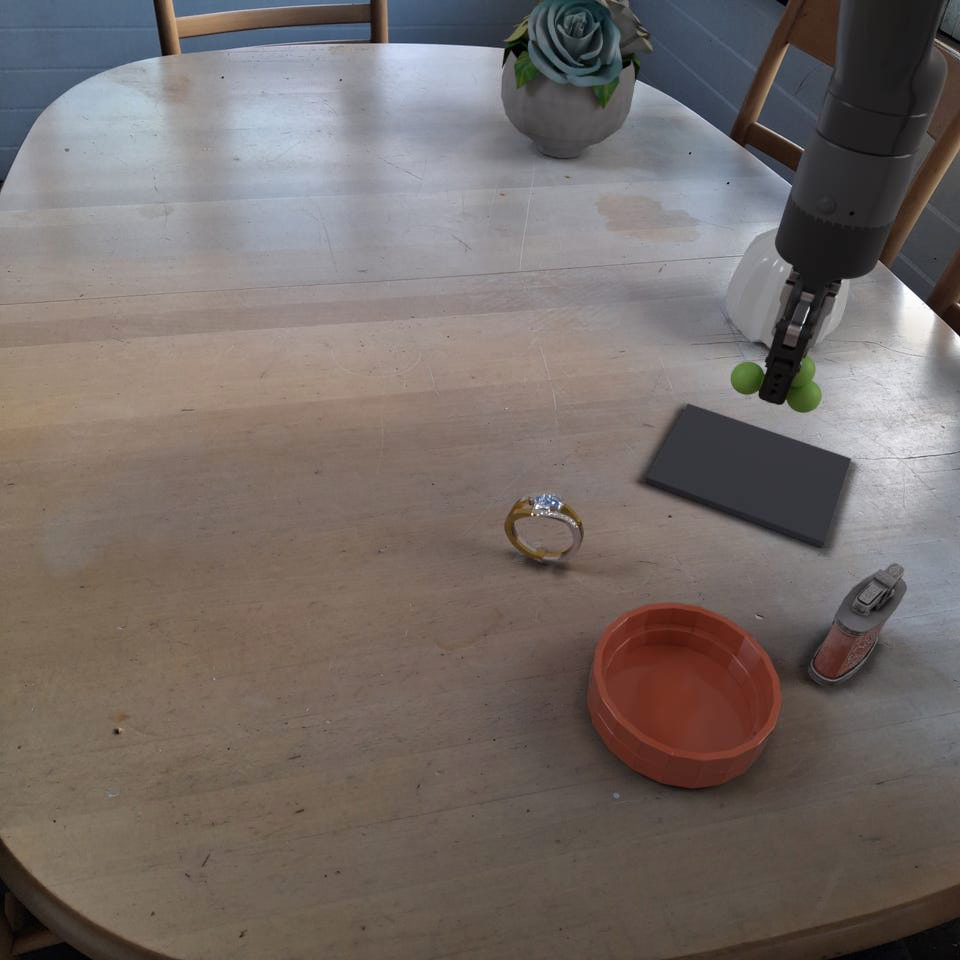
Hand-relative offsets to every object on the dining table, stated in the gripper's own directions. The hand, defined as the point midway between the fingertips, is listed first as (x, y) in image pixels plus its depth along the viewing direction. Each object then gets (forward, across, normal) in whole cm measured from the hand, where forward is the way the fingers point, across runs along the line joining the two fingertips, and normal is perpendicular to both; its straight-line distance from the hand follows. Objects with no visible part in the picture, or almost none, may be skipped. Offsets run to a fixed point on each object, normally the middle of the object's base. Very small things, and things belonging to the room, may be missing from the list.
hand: (775, 388), depth 76 cm
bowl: (+17, -22, -2) cm, 28 cm away
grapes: (+1, 0, 0) cm, 1 cm away
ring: (+17, -13, +14) cm, 26 cm away
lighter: (+17, -11, -13) cm, 24 cm away
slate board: (+17, +8, 0) cm, 19 cm away
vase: (+17, +37, +3) cm, 40 cm away
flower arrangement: (+17, +73, +48) cm, 89 cm away
